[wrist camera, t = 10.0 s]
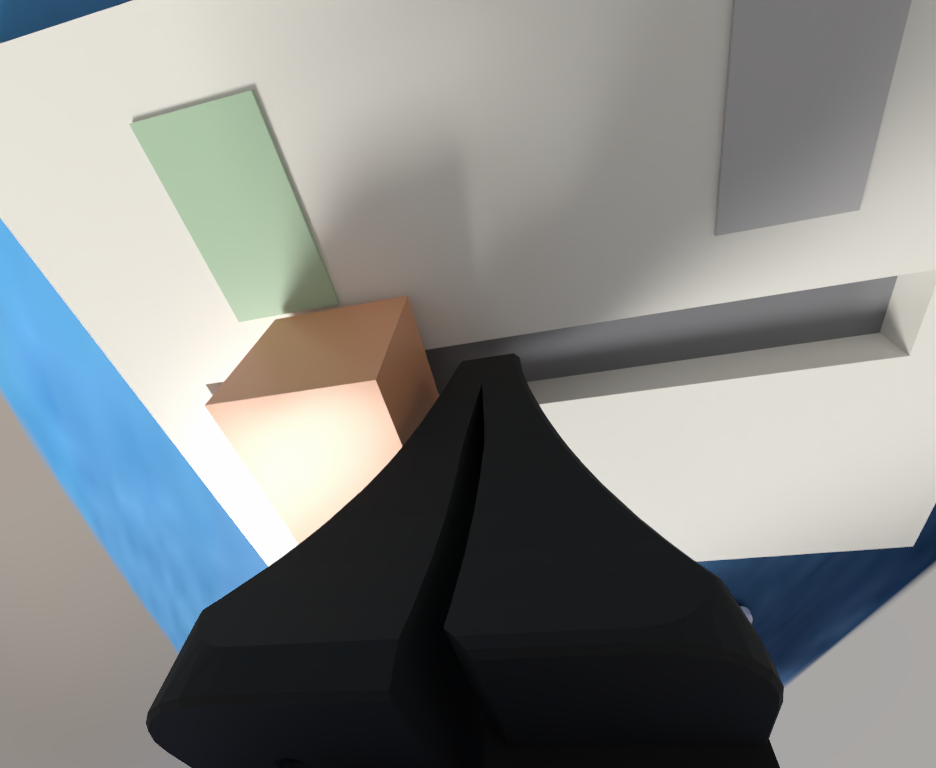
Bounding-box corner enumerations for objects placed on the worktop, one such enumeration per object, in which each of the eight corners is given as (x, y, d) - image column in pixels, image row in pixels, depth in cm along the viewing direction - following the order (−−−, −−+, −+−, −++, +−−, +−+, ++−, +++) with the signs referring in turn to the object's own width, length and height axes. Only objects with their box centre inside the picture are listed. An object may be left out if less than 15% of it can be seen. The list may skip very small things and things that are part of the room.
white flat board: (869, 493, 15) (915, 549, 14) (305, 543, 19) (285, 592, 17) (1181, -301, 6) (1425, -425, 5) (-7, 72, 10) (-113, 78, 8)
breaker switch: (463, 441, 13) (451, 568, 10) (364, 452, 14) (321, 578, 11) (414, 276, 11) (375, 380, 7) (291, 299, 11) (204, 405, 8)
